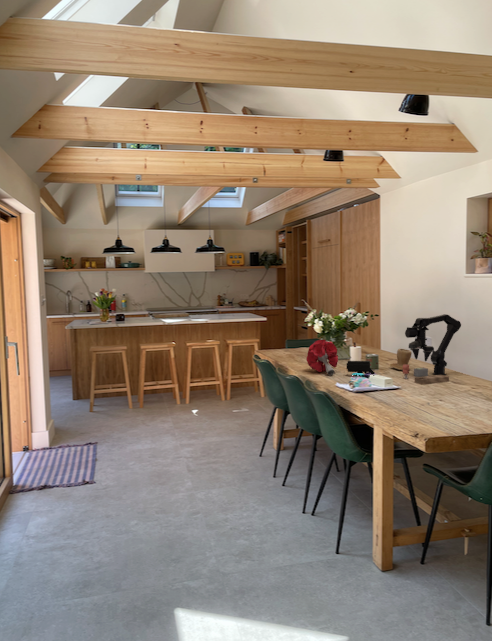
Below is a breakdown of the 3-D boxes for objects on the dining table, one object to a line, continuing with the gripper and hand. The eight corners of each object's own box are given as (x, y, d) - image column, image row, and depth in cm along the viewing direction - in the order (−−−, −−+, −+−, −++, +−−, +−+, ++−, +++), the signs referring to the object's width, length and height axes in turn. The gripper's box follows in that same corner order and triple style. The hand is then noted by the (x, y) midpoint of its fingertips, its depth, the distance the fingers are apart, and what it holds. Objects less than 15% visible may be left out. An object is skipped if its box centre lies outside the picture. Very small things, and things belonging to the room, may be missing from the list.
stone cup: (414, 370, 358) (414, 349, 357) (399, 371, 356) (399, 350, 354) (403, 367, 373) (403, 347, 371) (388, 368, 370) (388, 347, 369)
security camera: (374, 377, 338) (374, 362, 337) (346, 376, 342) (346, 362, 341) (374, 375, 345) (374, 360, 344) (346, 374, 348) (346, 360, 348)
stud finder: (423, 374, 343) (423, 367, 343) (427, 376, 339) (428, 368, 338) (413, 376, 340) (413, 368, 340) (418, 377, 336) (418, 369, 335)
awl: (406, 377, 334) (406, 364, 333) (410, 378, 330) (410, 365, 330) (401, 378, 333) (401, 364, 332) (405, 379, 329) (405, 365, 328)
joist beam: (440, 379, 327) (441, 374, 326) (448, 381, 320) (448, 376, 320) (414, 382, 319) (414, 377, 319) (422, 384, 313) (422, 379, 312)
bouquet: (344, 383, 354) (330, 356, 378) (348, 356, 340) (333, 330, 364) (315, 386, 350) (302, 359, 374) (317, 360, 337) (305, 334, 361)
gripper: (402, 336, 343) (402, 359, 344) (420, 339, 326) (420, 363, 327) (415, 335, 347) (415, 357, 348) (434, 338, 330) (434, 361, 331)
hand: (420, 360), depth 339 cm, fingers open, 9 cm apart
